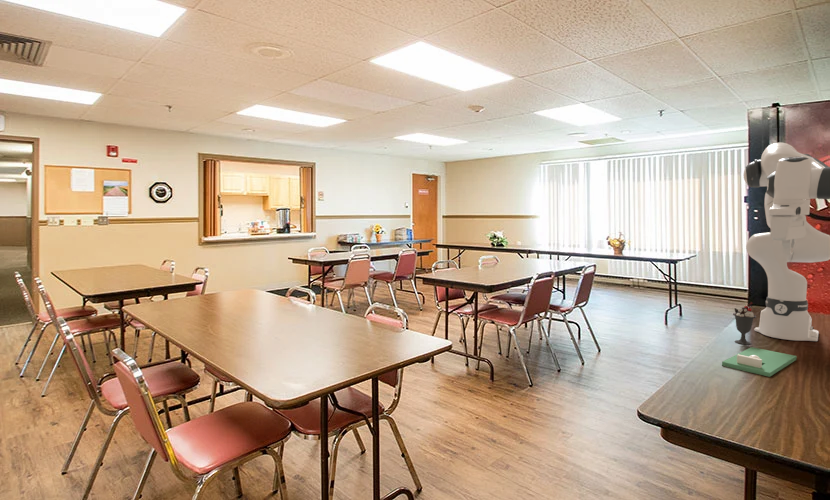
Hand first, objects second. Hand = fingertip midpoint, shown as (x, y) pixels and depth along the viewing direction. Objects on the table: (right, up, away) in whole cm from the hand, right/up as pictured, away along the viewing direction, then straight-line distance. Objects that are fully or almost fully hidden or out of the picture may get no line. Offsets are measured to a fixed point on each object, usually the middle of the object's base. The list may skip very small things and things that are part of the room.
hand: (788, 253), depth 140 cm
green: (-9, -34, 0) cm, 35 cm away
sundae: (+1, -33, +20) cm, 38 cm away
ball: (-13, -33, -3) cm, 36 cm away
